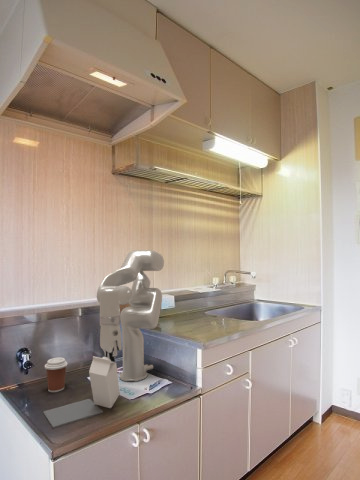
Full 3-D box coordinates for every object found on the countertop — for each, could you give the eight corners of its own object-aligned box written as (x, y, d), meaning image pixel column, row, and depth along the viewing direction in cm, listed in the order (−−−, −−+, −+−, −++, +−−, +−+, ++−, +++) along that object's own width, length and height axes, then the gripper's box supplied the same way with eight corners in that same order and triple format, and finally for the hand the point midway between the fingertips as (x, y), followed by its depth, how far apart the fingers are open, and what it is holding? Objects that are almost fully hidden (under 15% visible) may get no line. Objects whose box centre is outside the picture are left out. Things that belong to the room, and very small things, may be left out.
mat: (89, 399, 126) (89, 398, 126) (102, 412, 116) (102, 411, 116) (43, 412, 116) (43, 411, 116) (53, 428, 106) (53, 426, 106)
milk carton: (111, 408, 119) (105, 367, 112) (93, 404, 121) (87, 363, 114) (120, 393, 125) (115, 353, 119) (103, 390, 127) (98, 350, 121)
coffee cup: (47, 395, 131) (47, 365, 131) (42, 388, 138) (42, 359, 138) (70, 389, 136) (70, 360, 136) (64, 382, 143) (64, 355, 144)
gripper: (127, 322, 122) (127, 372, 121) (110, 316, 134) (110, 362, 133) (108, 325, 117) (109, 377, 116) (93, 318, 129) (92, 366, 128)
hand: (109, 369), depth 125 cm, fingers closed
